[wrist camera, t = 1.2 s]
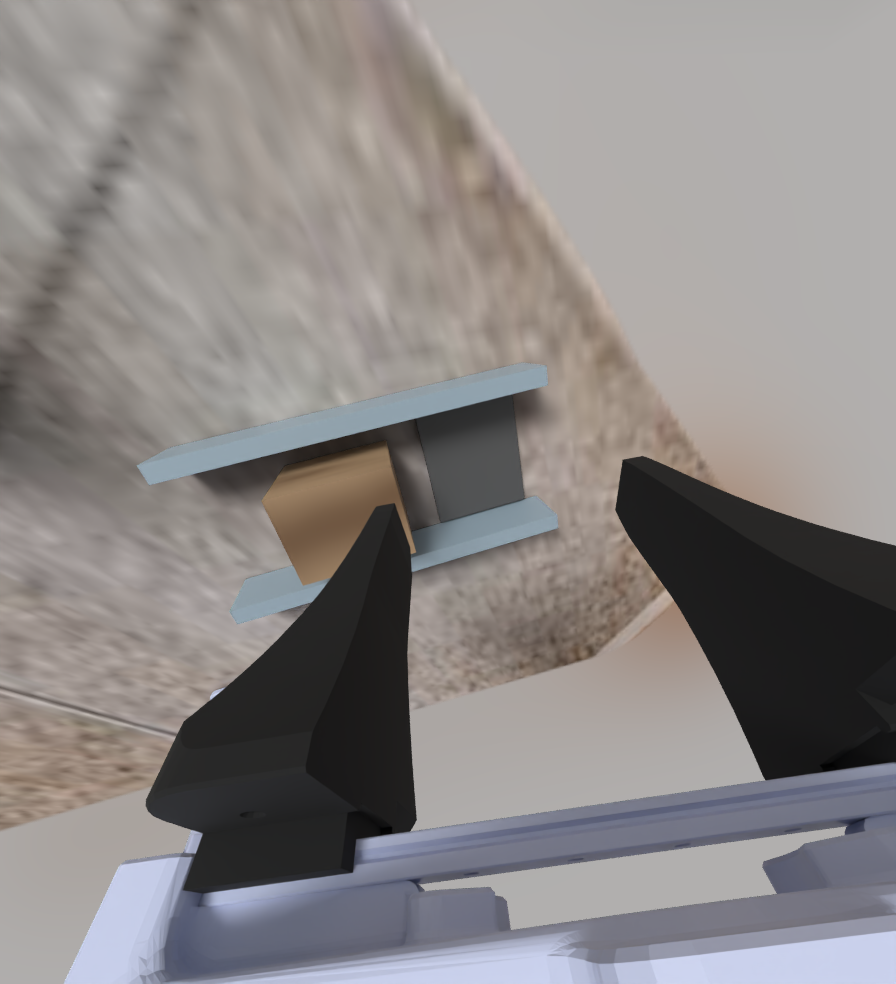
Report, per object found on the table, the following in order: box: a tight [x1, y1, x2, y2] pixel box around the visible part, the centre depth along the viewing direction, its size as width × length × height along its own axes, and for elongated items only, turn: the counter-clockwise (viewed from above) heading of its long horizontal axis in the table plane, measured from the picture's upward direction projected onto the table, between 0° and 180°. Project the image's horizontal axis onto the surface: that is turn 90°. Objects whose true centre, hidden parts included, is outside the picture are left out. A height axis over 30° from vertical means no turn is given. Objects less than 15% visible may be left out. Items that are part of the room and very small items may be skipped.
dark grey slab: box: [415, 394, 524, 523], centre depth 22 cm, size 8×6×1 cm
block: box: [262, 440, 416, 586], centre depth 19 cm, size 5×6×5 cm
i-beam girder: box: [137, 363, 558, 624], centre depth 20 cm, size 10×20×3 cm, turn 102°
